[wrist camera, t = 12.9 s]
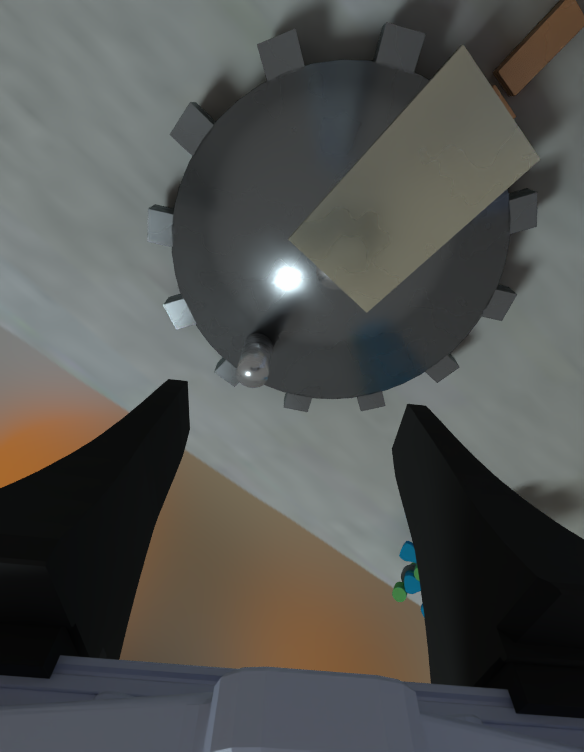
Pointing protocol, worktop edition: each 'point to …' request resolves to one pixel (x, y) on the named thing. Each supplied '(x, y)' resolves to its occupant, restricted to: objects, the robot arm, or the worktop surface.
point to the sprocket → (346, 220)
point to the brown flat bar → (540, 46)
